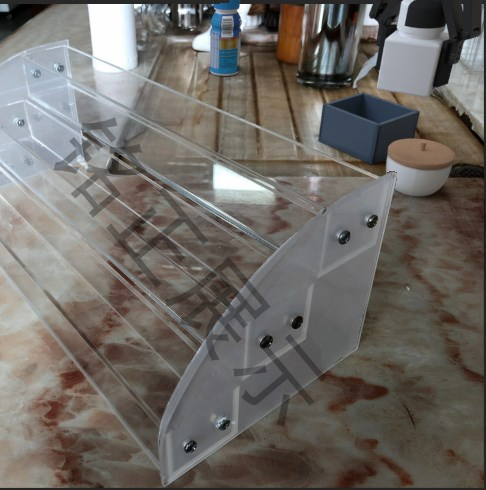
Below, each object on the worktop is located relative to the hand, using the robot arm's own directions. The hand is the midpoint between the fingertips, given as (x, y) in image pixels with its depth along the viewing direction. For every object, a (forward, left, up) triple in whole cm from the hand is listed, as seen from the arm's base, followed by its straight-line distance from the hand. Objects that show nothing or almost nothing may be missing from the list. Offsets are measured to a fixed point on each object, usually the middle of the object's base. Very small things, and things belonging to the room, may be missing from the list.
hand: (410, 76), depth 91 cm
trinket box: (-5, -5, -22) cm, 23 cm away
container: (0, 0, -2) cm, 2 cm away
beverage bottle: (+39, -66, -22) cm, 79 cm away
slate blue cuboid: (-1, -28, -18) cm, 33 cm away
